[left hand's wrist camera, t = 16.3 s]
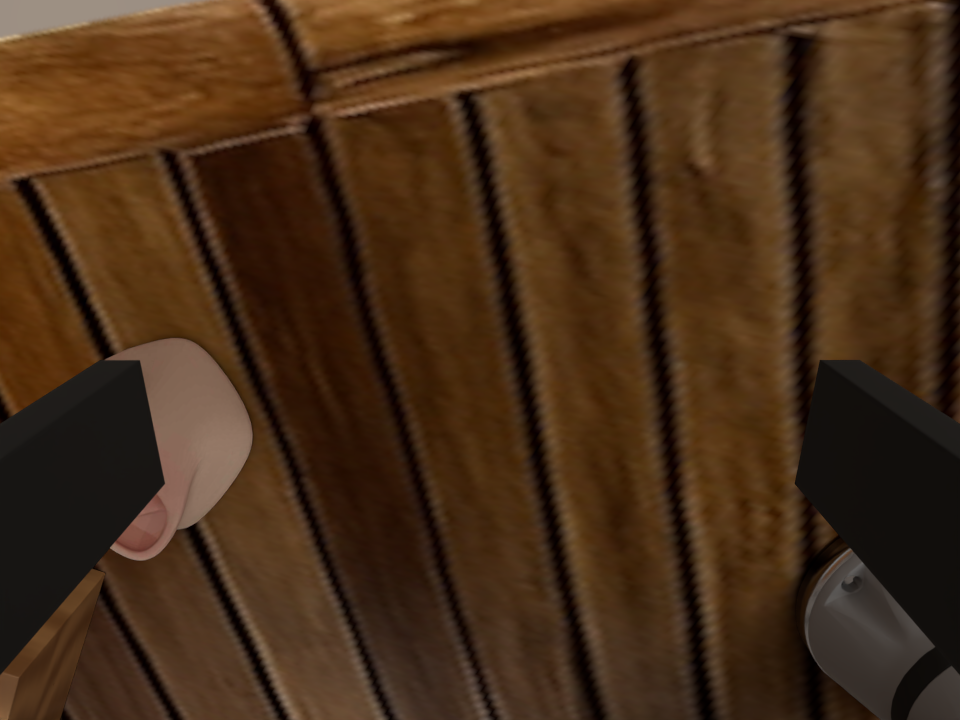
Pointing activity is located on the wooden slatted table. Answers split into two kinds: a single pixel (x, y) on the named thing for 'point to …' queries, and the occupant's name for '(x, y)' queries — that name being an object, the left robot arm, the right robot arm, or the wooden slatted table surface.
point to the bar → (50, 658)
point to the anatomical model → (186, 440)
